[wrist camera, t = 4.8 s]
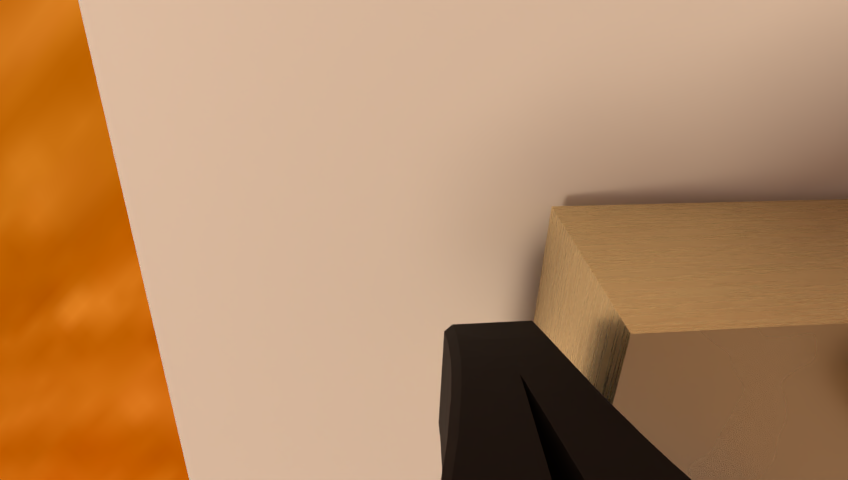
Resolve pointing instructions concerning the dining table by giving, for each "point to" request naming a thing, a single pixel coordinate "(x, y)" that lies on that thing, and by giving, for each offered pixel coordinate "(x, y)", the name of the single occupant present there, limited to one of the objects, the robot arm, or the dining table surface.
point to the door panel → (418, 185)
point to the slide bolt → (711, 328)
